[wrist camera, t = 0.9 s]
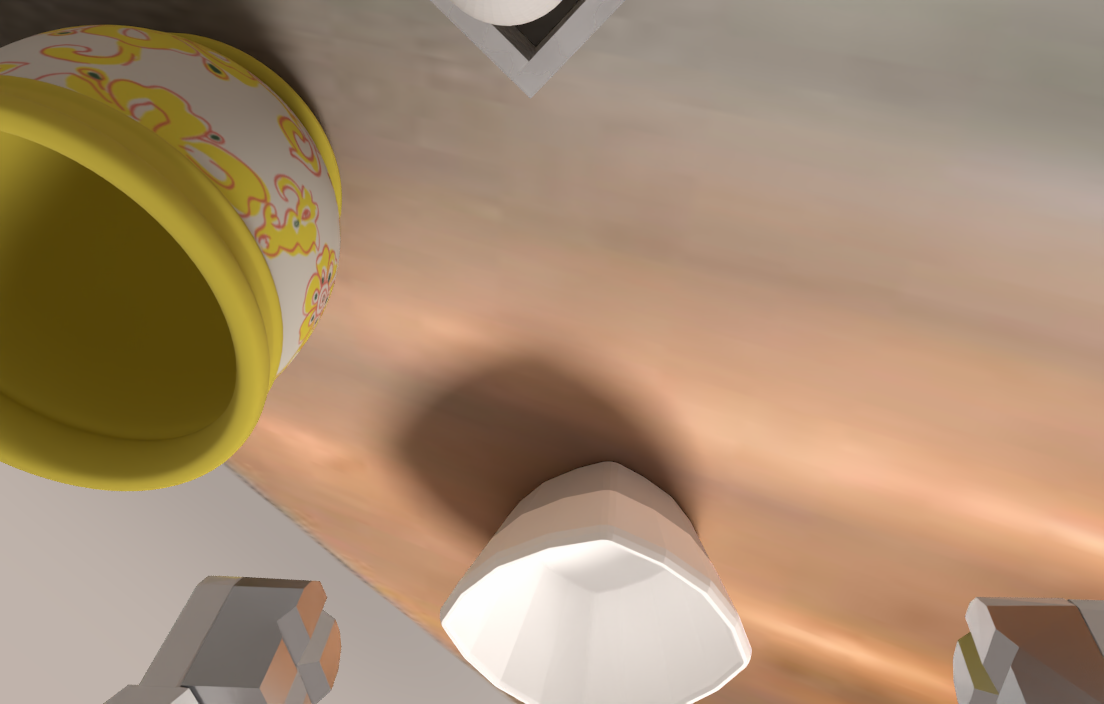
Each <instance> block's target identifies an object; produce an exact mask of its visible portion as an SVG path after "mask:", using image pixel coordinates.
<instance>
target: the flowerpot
mask: <svg viewBox="0 0 1104 704" xmlns="http://www.w3.org/2000/svg"><path fill="white" fill-rule="evenodd" d="M341 207H342V189H341V180H340V174H339V170H338V166H337V162H336V159H335V156H334V153H333V150H332V147H331V145H330V143H329V141H328V138H327V136H326V134H325V133H324V131H323V129H322V127H321V125H320V124H319V122H318V120H317V119H316V117H315V116H314V114H313V113H312V111H311V110H310V109H309V107H308V106H307V105H306V104H305V102H304V101H303V100H302V99H301V97H300V96H299V95H298V94H297V93H296V92H295V91H294V90H293V89H292V88H291V87H290V86H289V85H288V84H287V83H286V82H285V81H284V80H283V79H282V78H281V77H279V76H278V75H277V74H276V73H275V72H273V71H272V70H271V69H269V68H268V67H267V66H265V65H264V64H263V63H261V62H259V61H258V60H256V59H255V58H253V57H252V56H250V55H248V54H246V53H244V52H243V51H241V50H239V49H236V48H234V47H232V46H230V45H227V44H225V43H222V42H220V41H217V40H213V39H210V38H207V37H202V36H198V35H192V34H185V33H165V32H161V31H157V30H152V29H147V28H140V27H133V26H122V25H85V26H77V27H68V28H62V29H57V30H53V31H48V32H44V33H40V34H37V35H34V36H31V37H28V38H25V39H22V40H19V41H16V42H13V43H11V44H8V45H6V46H4V47H1V48H0V461H1V462H3V463H5V464H8V465H10V466H12V467H15V468H17V469H20V470H23V471H25V472H28V473H31V474H34V475H37V476H40V477H44V478H46V479H50V480H54V481H57V482H61V483H65V484H70V485H75V486H80V487H86V488H92V489H100V490H111V491H143V490H154V489H160V488H166V487H170V486H175V485H179V484H182V483H185V482H188V481H191V480H193V479H196V478H198V477H201V476H203V475H205V474H207V473H208V472H210V471H212V470H214V469H215V468H217V467H218V466H220V465H221V464H223V463H224V462H225V461H226V460H227V459H229V458H230V457H231V456H232V455H233V454H234V453H235V452H236V451H237V450H238V449H239V448H240V447H241V446H242V445H243V444H244V442H245V441H246V440H247V438H248V437H249V436H250V434H251V433H252V431H253V429H254V427H255V426H256V424H257V422H258V420H259V417H260V415H261V413H262V410H263V407H264V404H265V401H266V397H267V394H268V392H269V390H270V388H271V387H272V384H273V382H274V380H275V379H276V378H277V377H278V376H279V375H280V374H281V373H282V371H283V370H284V369H285V368H286V367H287V366H288V365H289V364H290V363H291V361H292V360H293V359H294V358H295V356H296V355H297V354H298V352H299V351H300V350H301V348H302V347H303V346H304V344H305V343H306V341H307V340H308V338H309V337H310V335H311V333H312V332H313V330H314V328H315V327H316V325H317V323H318V321H319V320H320V318H321V316H322V314H323V312H324V309H325V307H326V305H327V303H328V300H329V298H330V295H331V292H332V289H333V286H334V282H335V278H336V274H337V269H338V263H339V255H340V215H341Z"/></svg>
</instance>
